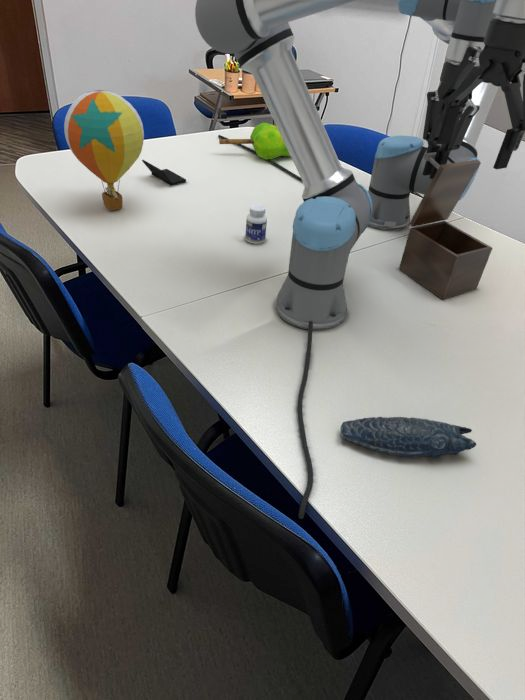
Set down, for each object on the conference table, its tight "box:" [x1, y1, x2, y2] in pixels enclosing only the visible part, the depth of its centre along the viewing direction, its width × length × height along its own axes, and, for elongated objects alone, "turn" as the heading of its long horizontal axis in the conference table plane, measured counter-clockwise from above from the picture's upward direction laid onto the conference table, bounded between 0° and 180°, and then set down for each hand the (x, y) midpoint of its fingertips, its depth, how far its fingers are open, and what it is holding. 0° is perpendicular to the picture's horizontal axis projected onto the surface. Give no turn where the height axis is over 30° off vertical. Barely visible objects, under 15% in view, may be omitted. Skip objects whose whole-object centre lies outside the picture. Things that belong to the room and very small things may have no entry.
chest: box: [398, 220, 493, 300], centre depth 124 cm, size 15×12×11 cm
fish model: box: [340, 416, 477, 458], centre depth 82 cm, size 7×21×5 cm, turn 84°
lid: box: [409, 152, 482, 228], centre depth 121 cm, size 16×12×8 cm
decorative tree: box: [218, 122, 291, 161], centre depth 186 cm, size 18×10×30 cm
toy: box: [63, 89, 145, 212], centre depth 136 cm, size 20×20×30 cm
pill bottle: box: [244, 204, 268, 245], centre depth 134 cm, size 5×5×9 cm
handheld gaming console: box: [141, 159, 187, 187], centre depth 162 cm, size 12×7×10 cm
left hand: (470, 155), depth 96 cm, fingers open, 13 cm apart
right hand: (431, 176), depth 121 cm, fingers closed on lid, 2 cm apart
